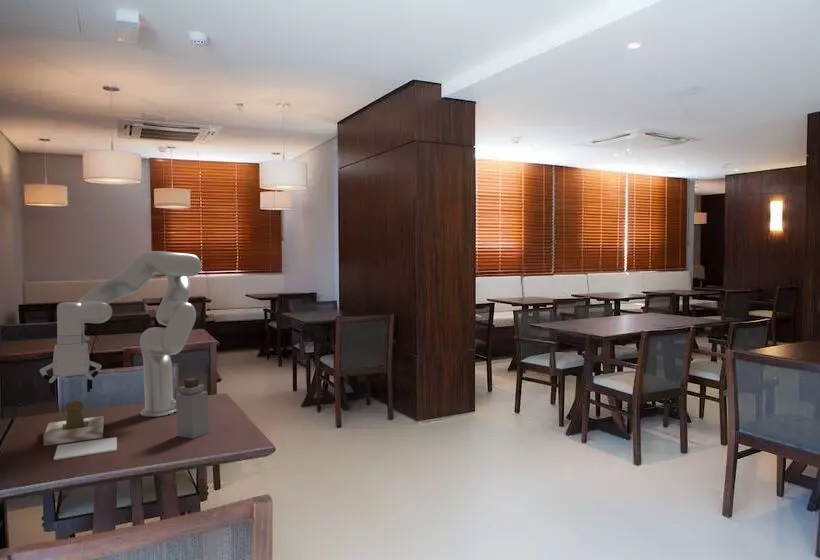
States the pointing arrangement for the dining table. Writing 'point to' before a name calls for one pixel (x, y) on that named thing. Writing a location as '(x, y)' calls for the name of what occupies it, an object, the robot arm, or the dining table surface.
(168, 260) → the robot arm
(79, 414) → the cork
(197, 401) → the perfume bottle
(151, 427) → the dining table surface
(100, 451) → the grey mat
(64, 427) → the shaker holder
